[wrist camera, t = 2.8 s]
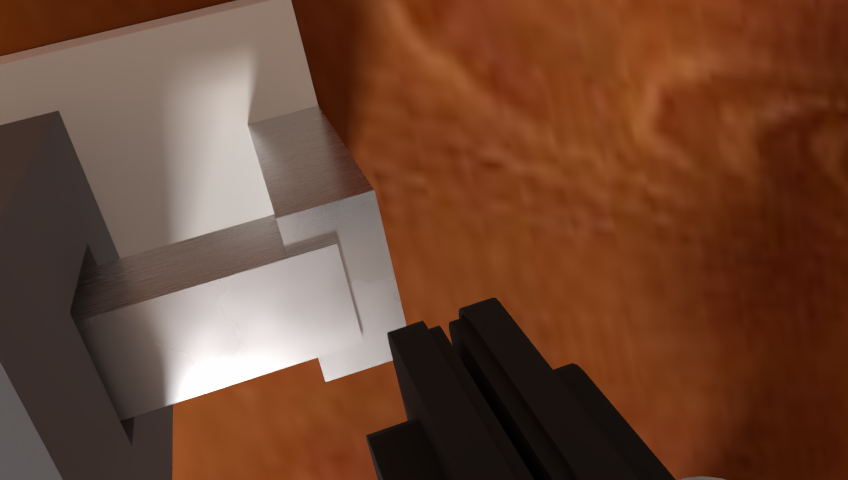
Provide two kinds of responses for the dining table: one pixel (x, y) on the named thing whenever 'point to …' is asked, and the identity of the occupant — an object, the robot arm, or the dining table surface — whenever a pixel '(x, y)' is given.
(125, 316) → the white frame stand
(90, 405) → the collar
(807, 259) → the dining table surface
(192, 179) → the base board
